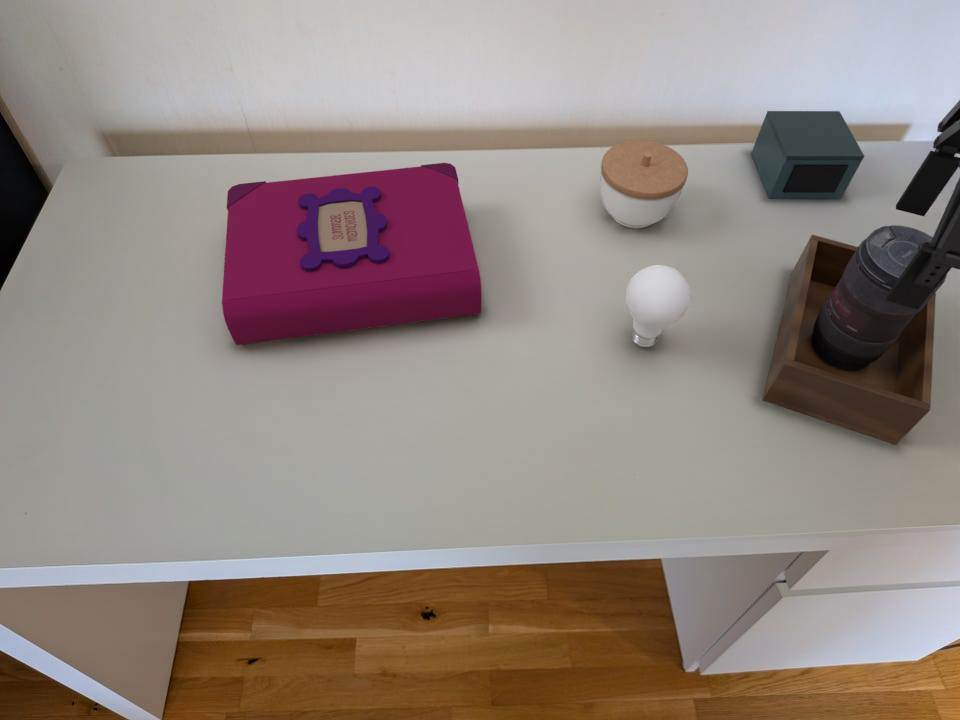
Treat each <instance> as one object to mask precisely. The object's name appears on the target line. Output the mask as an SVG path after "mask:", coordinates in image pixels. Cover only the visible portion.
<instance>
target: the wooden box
mask: <svg viewBox="0 0 960 720" xmlns="http://www.w3.org/2000/svg"><path fill="white" fill-rule="evenodd" d="M858 247H859V246H856V245H852V244H849V243H845V242H841V241H838V240H834V239H830V238H826V237H823V236H819V235H815V234H811V236H810V238H809V239H808V241H807V243H806V245H805V247H804V248H803V250H802V252H801V254H800V256H799V258H798V260H797V262H796V263H795V266H794V268H793V269H792V271H791V273H790V277H789V281H788V285H787V290H786V295H785V299H784V303H783V307H782V313H781V318H780V322H779V326H778V330H777V334H776V339H775V344H774V348H773V352H772V357H771V361H770V364H769V365H770V366H769V370H768V374H767V380H766V383H765V388H764V392H763V397H762V401H764V402H767V403H769V404H770V403H771V404H773V405H776V406H779V407H782V408H785V409H788V410H791V411H794V412H798V413H799V414H803V415H806V416H809V417H812V418H815V419H818V420H821V421H824V422H827V423H829V424H833V425H836V426H839V427H842V428H845V429H848V430H851V431H854V432H858V433H860V434H863V435H866V436H869V437H872V438H875V439H877V440H881V441H884V442H887V443H890V444H893V445H897V444H899V442H900V441H902V439H903V438H905V436H906V435H907V434H908V433H909V432H910V431H911V430H913V428H914V427H915V426H916V425H917V424H918V423H919V422H920V421H921V420H922V419H923V418H924V417H925V416H926V415H927V414H928V413H929V412H930V411H931V403H932V384H933V383H932V382H933V381H932V380H933V361H934V360H933V359H934V340H935V339H934V338H935V321H936V320H935V319H936V318H935V317H936V299H937V297H936V296H937V292H936V293H935V294H934V295H933V296H932V298H931V299H930V300H929V302H928V303H927V304H926V305H925V306H924V307H923V308H922V309H921V310H920V311H919V312H918V313H917V314H916V315H915V316H914V317H913V318H912V320H911V321H910V322H909V324H908V325H907V326H906V327H905V329H904V330H903V331H902V332H901V334H900V336H899V337H898V338H897V340H896V341H895V342H894V344H893V345H892V346H891V347H890V348H889V349H888V350H887V351H886V352H885V353H884V354H883V355H882V356H881V357H880V358H879V359H878V360H876V361H874V362H872V363H870V364H869V365H868V366H867V367H865V368H863V369H860V370H854V371H848V370H842V369H839V368H836V367H834V366H832V365H830V364H828V363H826V362H825V361H824V360H822V359H821V358H820V357H819V356H818V355H817V353H816V352H815V351H814V349H813V346H812V341H811V339H812V334H813V327H814V323H815V321H816V319H817V317H818V314H819V312H820V310H821V308H822V307H823V305H824V304H825V302H826V301H827V299H828V298H829V296H830V295H831V294H832V292H833V291H834V289H835V287H836V286H837V284H838V283H839V281H840V279H841V278H842V275H843V273H844V271H845V268H846V266H847V264H848V263H849V261H850V260H851V258H852V256H853V255H854V253H855V252H856V250H857V249H858Z"/></svg>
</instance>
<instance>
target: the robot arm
mask: <svg viewBox="0 0 960 720" xmlns="http://www.w3.org/2000/svg"><path fill="white" fill-rule="evenodd" d="M936 132H937V133H939V134H938V135H937V136H936V138H935V139H934V140H933V145H932V148H933V149H934V150H930V151H929V152H928V154H927V156H926V157H925V158H924V160H923V161H922V163H921V165H920V166H919V168H918V170H917V171H916V173H915V174H914V176H913V178H912V179H911V180H910V182H909V183H908V185H907V187H906V189H904V191H903V192H902V194H901V196H900V198H899V199H898V201H897V202H896V204H895V210H898V211H901V212H905V213H909V214H912V215H916V216H920V217H925V216H926V214H927V213H928V212H929V210H930V208H931V207H932V206H933V204H934V203H935V202H936V200H937V198H938V197H939V196H940V194H941V193H942V192H943V190H944V189H945V187H946V186H947V184H948V183H949V182H950V180H951V178H952V177H953V175H954V174H955V173H956V171H957V170H958V168H959V169H960V156H956V154H957V155H960V99H959V100H958V102H956V104H954V106H953V107H952V108H951V109H950V110H949V111H948V112H947V114H946V115H945V116H944V117H943V118H942V120H941V121H939V123H938V124H937V130H936ZM932 237H933V238H932V240H931V242H930V243H928V242H925V243H924V244H919V245H918V252H917V254H916V255H915V257H914V258H913V259H912V261H911V262H910V263H909V265H908V266H907V268H906V269H905V270H904V272H903V273H902V274H901V276H900V277H899V279H898V280H897V281H896V283H895V284H894V285H893V287H892V288H891V290H890V291H889V292H888V294H887V297H886V300H887V301H890V302H894V303H897V304H900V305H904V306H907V307H911V308H914V309H919V308H920V307H921V305H922V304H923V303H924V302H925V300H926V299H927V298H928V297H929V295H930V294H931V293H932V292H933V290H934V289H935V288H936V287H937V285H938V284H939V283H940V282H941V280H942V279H943V278H944V277H945V275H946V274H947V275H948V273H949V272H950V271H951V270H952V269H955V270H960V177H958V181H957V182H956V184H955V187H954V189H953V191H952V194H951V195H950V197H949V200H948V203H947V205H946V207H945V209H944V211H943V213H942V216H941V218H940V219H939V223H938V224H937V227H936V229H935V231H934V234H933V236H932Z"/></svg>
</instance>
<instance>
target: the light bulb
mask: <svg viewBox="0 0 960 720" xmlns="http://www.w3.org/2000/svg"><path fill="white" fill-rule="evenodd" d="M690 301H691V289H690V286H689V283H688V281H687V279H686V278H685V276H683V274H682V273H680V272H679V271H678V270H677V269H675V268H673V267H671V266H670V265H669V266H668V265H665V264H653V265H649V266H646V267H644V268H642V269H640V270H639V271H637V272H636V273H635V274H634V275H633V276H632V277H631V279H630V280H629V281H628V284H627V287H626V291H625V306H626V308H627V310H628V312H629V314H630V316H631V317H632V319H633V320H632V326H633V328H632V330H631V336H630V337H631V340H632V342H633V343H635V344H636V345H637V346H639V347H642V348H650V347H652V346H654V345H656V344H657V343H658V341H659V339H660V338H659V337H660V335H661V334H662V333H663V331H664V329H665V328H667V327H669V326H671V325H674V324H676V323H677V322H679V320H681V318H683V317H684V315H685V314H686V312H687V310H688V308H689V306H690Z"/></svg>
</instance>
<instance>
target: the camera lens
mask: <svg viewBox="0 0 960 720" xmlns="http://www.w3.org/2000/svg"><path fill="white" fill-rule="evenodd" d="M932 238H933V236H931V235H930V234H928V233H926V232H924V231H922V230H920V229H917V228H914V227H910V226H906V225H893V224H892V225H883V226H881V227H878V228H876V229H874V230H873V231H871V233H869V235H868V236H867V237H866V238H865V239H863V240H862V241H861V242H860V244H859V245H858V246H857V247H858V249H857V250H856V252H855V253H854V255H853V256H852V258H851V260H850V261H849V263H848V264H847V266H846V268H845V271H844V273H843V275H842V278H841V279H840V281H839V283H838V284H837V286H836V287H835V289H834V291H833V292H832V294H831V295H830V296H829V298H828V299H827V301H826V302H825V304H824V305H823V307H822V308H821V310H820V312H819V314H818V317H817V319H816V321H815V323H814V327H813V334H812V339H811V341H812V346H813V349H814V351H815V352H816V353H817V355H818V356H819V357H820V358H821V359H822V360H824V361H825V362H826V363H828V364H830V365H832V366H834V367H836V368H839V369H842V370H848V371H854V370H860V369H863V368H865V367H867V366H868V365H869V364H870V363H872V362H874V361H876V360H878V359H879V358H880V357H881V356H882V355H883V354H884V353H885V352H886V351H887V350H888V349H889V348H890V347H891V346H892V345H893V344H894V342H895V341H896V340H897V338H898V337H899V336H900V334H901V332H902V331H903V330H904V329H905V327H906V326H907V325H908V324H909V322H910V321H911V320H912V318H913V317H914V316H915V315H916V314H917V313H918V312H919V311H920V310H921V309H922V308H923V307H924V306H925V305H926V304H927V303H928V302H929V300H930V299H931V298H932V296H933V295H934V294H935V293H936V294H937V291H938V290H939V289H940V288H941V287H942V286H943V284H944V283H945V281H946V279H947V276H948V273H947V274H946V275H945V277H944V278H943V279H942V280H941V282H940V283H939V284H938V285H937V287H936V288H935V289H934V290H933V292H932V293H931V294H930V295H929V297H928V298H927V299H926V300H925V302H924V303H923V304H922V305H921V307H920V308H919V309H914V308H911V307H907V306H904V305H900V304H897V303H894V302H890V301H887V300H886V297H887V294H888V292H889V291H890V290H891V288H892V287H893V285H894V284H895V283H896V281H897V280H898V279H899V277H900V276H901V274H902V273H903V272H904V270H905V269H906V268H907V266H908V265H909V263H910V262H911V261H912V259H913V258H914V257H915V255H916V254H917V252H918V245H919V244H924V243H925V242H928V243H930V242H931V240H932Z"/></svg>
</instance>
